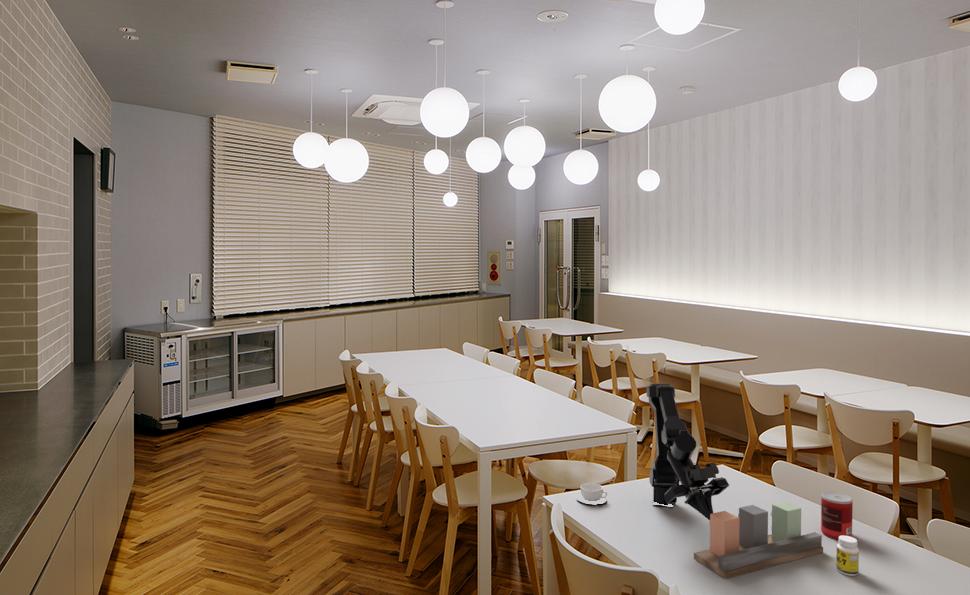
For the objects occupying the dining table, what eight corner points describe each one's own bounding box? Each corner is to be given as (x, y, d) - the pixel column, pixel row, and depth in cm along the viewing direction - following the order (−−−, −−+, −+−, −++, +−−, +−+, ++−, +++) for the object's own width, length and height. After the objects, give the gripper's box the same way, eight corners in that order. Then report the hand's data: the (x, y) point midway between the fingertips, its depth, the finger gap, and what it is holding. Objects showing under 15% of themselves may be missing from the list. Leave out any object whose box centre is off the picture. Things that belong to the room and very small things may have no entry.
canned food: (847, 530, 169) (848, 492, 168) (855, 542, 161) (856, 503, 161) (818, 526, 171) (818, 490, 171) (824, 538, 164) (824, 500, 163)
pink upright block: (707, 549, 154) (707, 512, 154) (721, 545, 156) (721, 509, 156) (724, 559, 149) (724, 521, 148) (739, 555, 151) (739, 517, 150)
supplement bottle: (831, 567, 148) (832, 534, 147) (849, 566, 148) (849, 534, 148) (845, 577, 143) (845, 543, 143) (863, 576, 143) (863, 542, 143)
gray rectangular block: (735, 542, 158) (736, 506, 158) (749, 539, 160) (749, 503, 160) (753, 552, 153) (753, 514, 152) (767, 548, 155) (768, 511, 154)
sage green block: (768, 538, 160) (769, 503, 160) (781, 535, 162) (782, 500, 162) (787, 548, 155) (787, 511, 154) (800, 544, 157) (801, 508, 156)
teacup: (573, 504, 190) (573, 490, 190) (580, 493, 199) (580, 480, 199) (603, 508, 186) (603, 494, 186) (609, 497, 195) (609, 484, 195)
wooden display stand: (693, 558, 153) (693, 541, 153) (787, 535, 166) (788, 520, 165) (725, 578, 143) (725, 560, 142) (823, 552, 155) (823, 535, 155)
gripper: (671, 457, 157) (700, 512, 147) (724, 449, 164) (755, 501, 154) (652, 476, 164) (679, 531, 154) (704, 468, 171) (732, 519, 161)
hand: (712, 520), depth 156 cm, fingers closed
